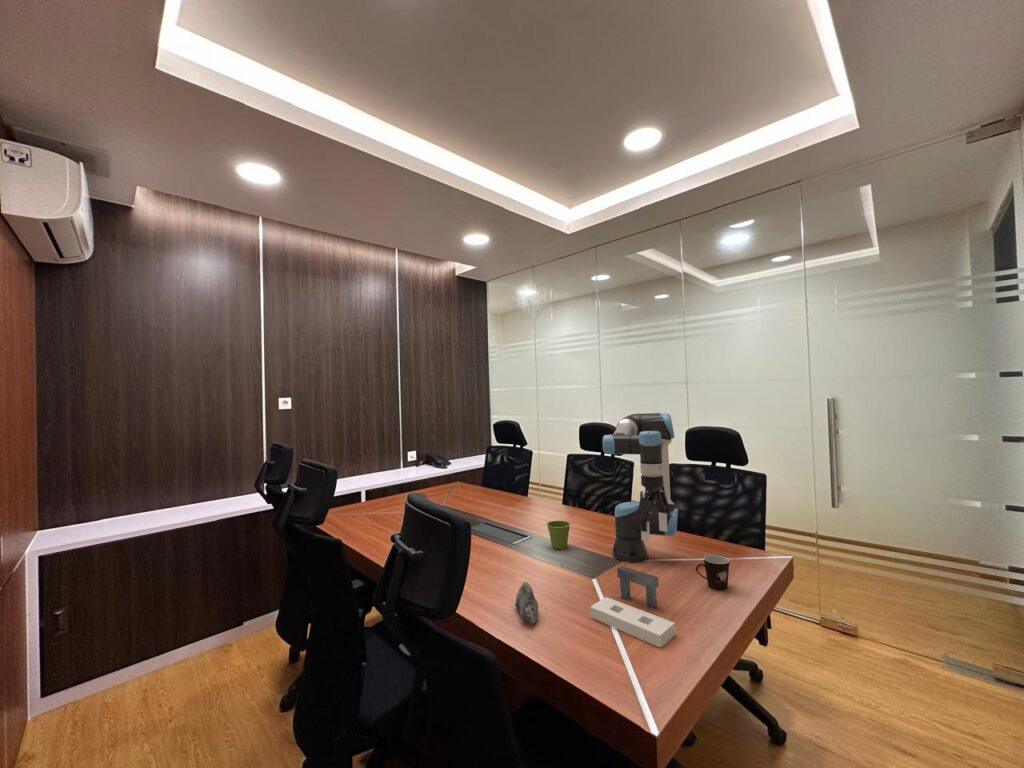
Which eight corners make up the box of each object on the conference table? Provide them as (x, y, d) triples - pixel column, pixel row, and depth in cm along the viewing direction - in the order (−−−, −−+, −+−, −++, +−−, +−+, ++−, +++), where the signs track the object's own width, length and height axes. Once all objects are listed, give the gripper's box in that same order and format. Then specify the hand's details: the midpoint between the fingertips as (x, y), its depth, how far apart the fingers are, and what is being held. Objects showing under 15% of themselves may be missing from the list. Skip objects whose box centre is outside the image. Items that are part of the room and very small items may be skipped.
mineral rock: (534, 629, 128) (532, 597, 128) (502, 623, 132) (501, 591, 133) (547, 610, 140) (546, 579, 140) (518, 604, 144) (517, 575, 145)
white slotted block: (590, 617, 134) (590, 606, 134) (606, 607, 140) (606, 596, 140) (660, 648, 116) (660, 635, 116) (675, 634, 122) (674, 622, 123)
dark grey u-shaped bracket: (618, 597, 147) (617, 568, 147) (623, 594, 149) (621, 566, 149) (655, 610, 137) (653, 580, 137) (659, 607, 139) (658, 577, 139)
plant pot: (575, 545, 200) (574, 521, 201) (565, 553, 190) (564, 528, 191) (554, 541, 207) (553, 518, 207) (542, 549, 197) (541, 525, 197)
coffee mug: (728, 583, 155) (727, 556, 155) (732, 593, 146) (731, 564, 147) (695, 579, 158) (693, 553, 159) (697, 589, 150) (695, 561, 151)
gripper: (645, 481, 135) (648, 547, 134) (677, 471, 153) (680, 529, 152) (624, 479, 140) (627, 542, 139) (657, 469, 158) (660, 525, 157)
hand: (654, 535), depth 145 cm, fingers open, 13 cm apart
